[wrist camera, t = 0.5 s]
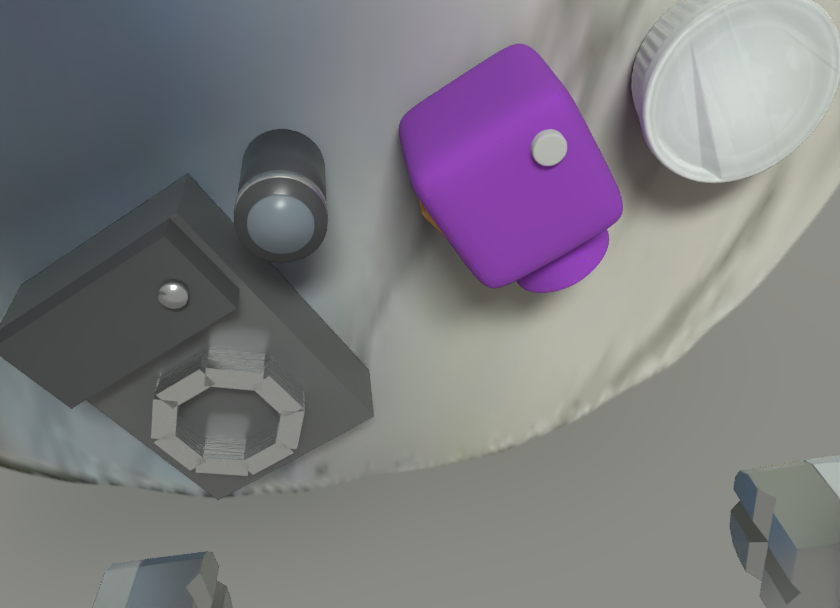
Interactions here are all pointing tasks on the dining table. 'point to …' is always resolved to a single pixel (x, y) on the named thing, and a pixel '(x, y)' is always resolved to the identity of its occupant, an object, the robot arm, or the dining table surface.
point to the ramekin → (734, 84)
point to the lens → (281, 197)
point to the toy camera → (512, 174)
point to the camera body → (188, 344)
